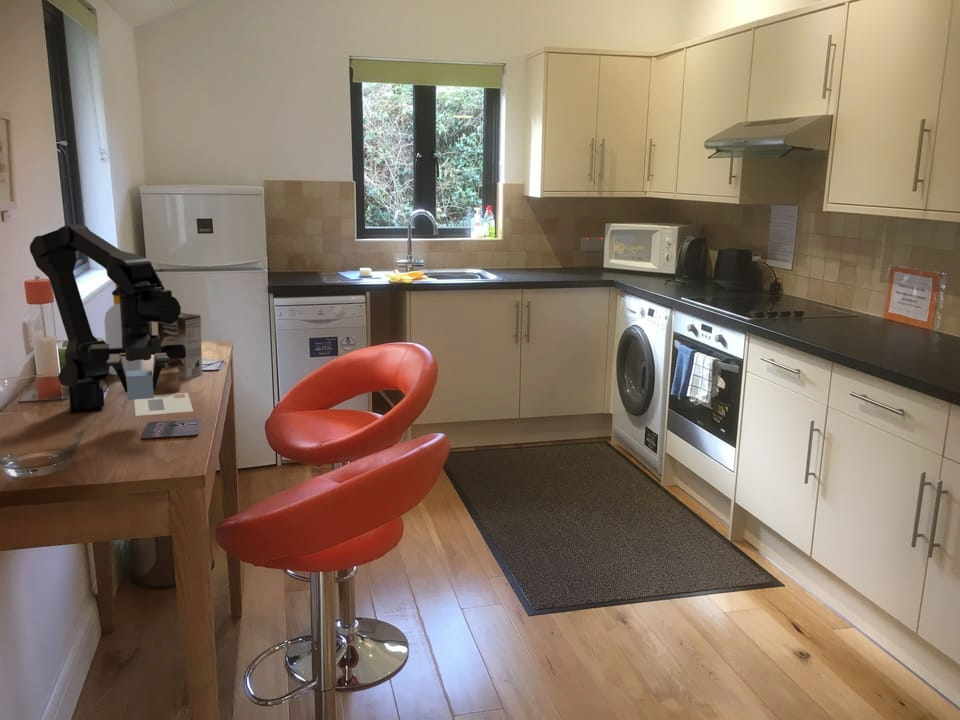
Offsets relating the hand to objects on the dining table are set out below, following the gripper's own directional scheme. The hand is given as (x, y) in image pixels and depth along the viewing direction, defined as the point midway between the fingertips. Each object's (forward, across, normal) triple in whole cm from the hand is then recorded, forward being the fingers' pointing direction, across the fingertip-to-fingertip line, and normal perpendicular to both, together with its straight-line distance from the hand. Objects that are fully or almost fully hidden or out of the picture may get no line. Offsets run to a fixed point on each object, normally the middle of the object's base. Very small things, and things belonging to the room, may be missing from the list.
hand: (140, 390), depth 174 cm
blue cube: (+1, 0, 0) cm, 1 cm away
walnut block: (+7, +7, +26) cm, 28 cm away
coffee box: (+7, +11, +40) cm, 42 cm away
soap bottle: (+7, -2, +47) cm, 48 cm away
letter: (+7, +5, +13) cm, 16 cm away
